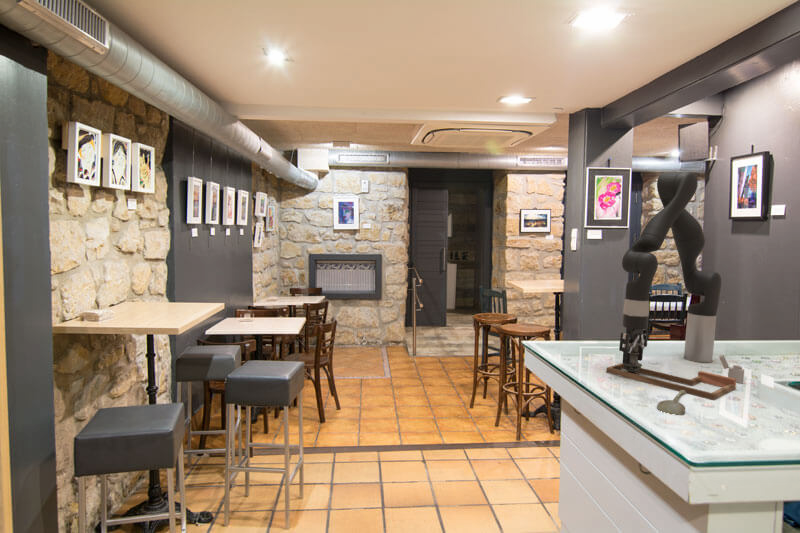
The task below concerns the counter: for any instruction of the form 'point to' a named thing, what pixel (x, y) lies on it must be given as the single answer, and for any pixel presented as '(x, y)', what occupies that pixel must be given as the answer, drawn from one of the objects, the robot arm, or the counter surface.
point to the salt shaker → (633, 361)
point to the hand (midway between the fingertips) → (632, 362)
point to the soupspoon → (672, 405)
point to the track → (680, 381)
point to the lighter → (733, 370)
